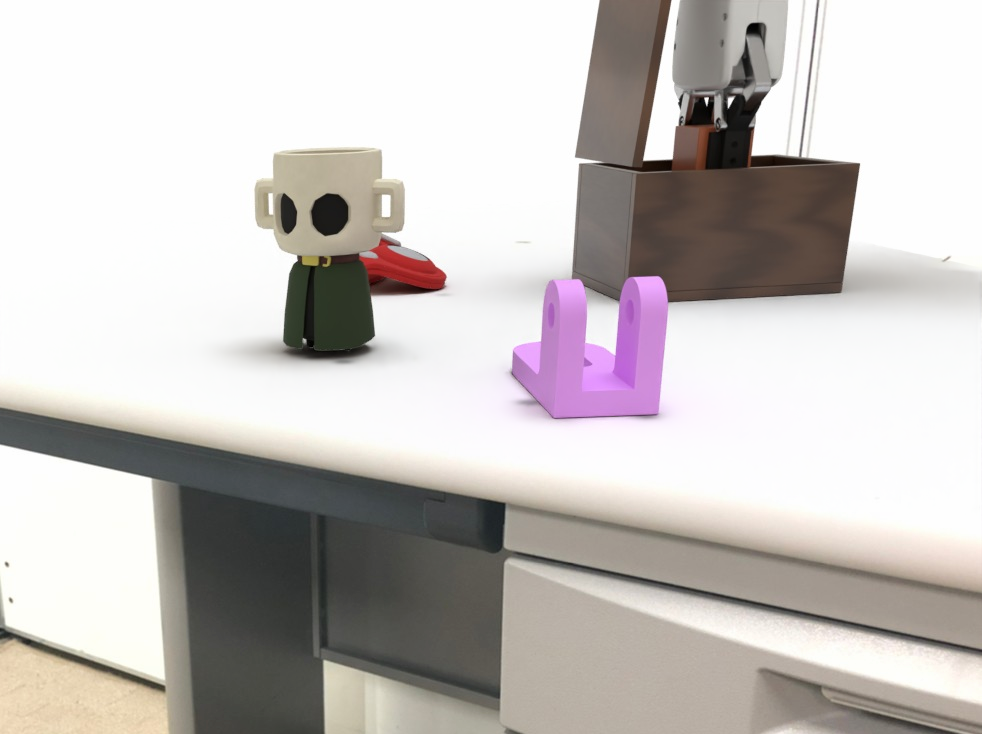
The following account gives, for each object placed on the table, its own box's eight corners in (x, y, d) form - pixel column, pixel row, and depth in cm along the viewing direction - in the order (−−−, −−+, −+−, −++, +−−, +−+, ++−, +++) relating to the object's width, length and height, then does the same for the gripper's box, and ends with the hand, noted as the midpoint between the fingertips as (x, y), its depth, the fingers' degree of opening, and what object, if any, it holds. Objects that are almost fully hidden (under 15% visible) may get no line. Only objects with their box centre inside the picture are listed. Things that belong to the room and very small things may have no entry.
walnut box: (763, 269, 106) (777, 154, 103) (841, 292, 95) (860, 163, 91) (571, 279, 105) (578, 163, 102) (626, 304, 94) (636, 173, 90)
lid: (622, -86, 95) (554, -92, 94) (691, -110, 83) (614, -118, 83) (583, 158, 102) (519, 153, 101) (642, 167, 90) (570, 162, 89)
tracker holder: (473, 273, 103) (381, 256, 98) (454, 321, 105) (363, 307, 100) (399, 228, 112) (311, 210, 107) (383, 273, 114) (296, 258, 109)
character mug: (234, 354, 82) (226, 154, 77) (283, 334, 87) (279, 147, 83) (380, 366, 77) (382, 153, 72) (422, 345, 82) (426, 146, 77)
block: (722, 181, 99) (728, 123, 98) (748, 185, 95) (755, 125, 93) (669, 183, 99) (675, 125, 97) (693, 187, 95) (699, 127, 93)
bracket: (658, 414, 64) (670, 282, 61) (553, 417, 64) (562, 286, 61) (591, 361, 76) (599, 249, 73) (503, 364, 76) (508, 252, 73)
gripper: (845, -86, 83) (808, 188, 89) (731, -59, 98) (707, 173, 105) (740, -83, 82) (711, 193, 89) (643, -56, 98) (624, 176, 105)
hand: (709, 179), depth 97 cm, fingers closed on block, 4 cm apart
